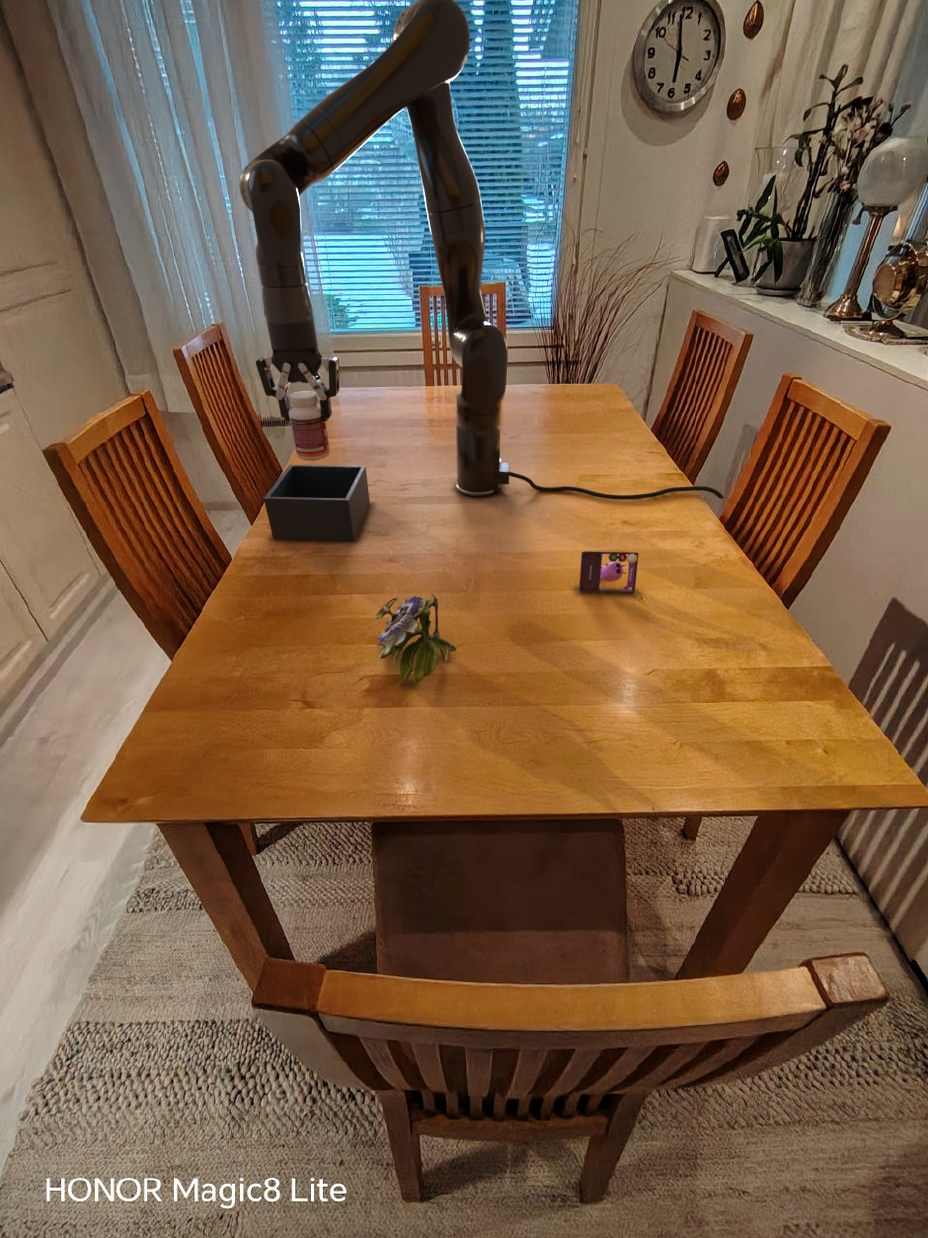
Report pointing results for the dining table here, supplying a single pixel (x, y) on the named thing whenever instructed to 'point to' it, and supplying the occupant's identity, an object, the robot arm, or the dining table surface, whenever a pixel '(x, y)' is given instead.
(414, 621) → the passion flower
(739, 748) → the dining table surface
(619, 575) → the game card
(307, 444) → the pill bottle
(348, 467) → the open storage bin
